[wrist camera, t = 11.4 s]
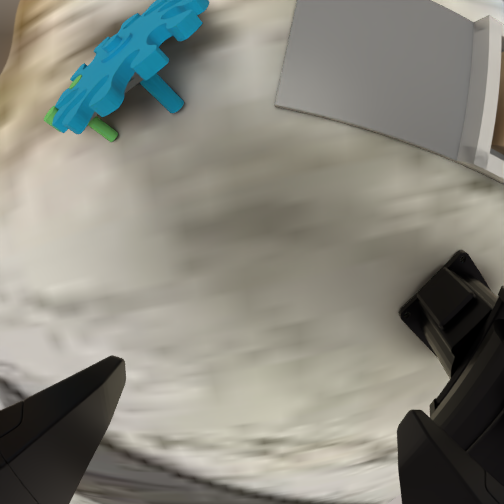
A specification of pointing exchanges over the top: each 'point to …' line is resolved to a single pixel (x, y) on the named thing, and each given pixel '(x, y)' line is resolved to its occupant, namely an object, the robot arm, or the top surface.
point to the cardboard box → (499, 115)
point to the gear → (126, 67)
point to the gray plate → (399, 74)
